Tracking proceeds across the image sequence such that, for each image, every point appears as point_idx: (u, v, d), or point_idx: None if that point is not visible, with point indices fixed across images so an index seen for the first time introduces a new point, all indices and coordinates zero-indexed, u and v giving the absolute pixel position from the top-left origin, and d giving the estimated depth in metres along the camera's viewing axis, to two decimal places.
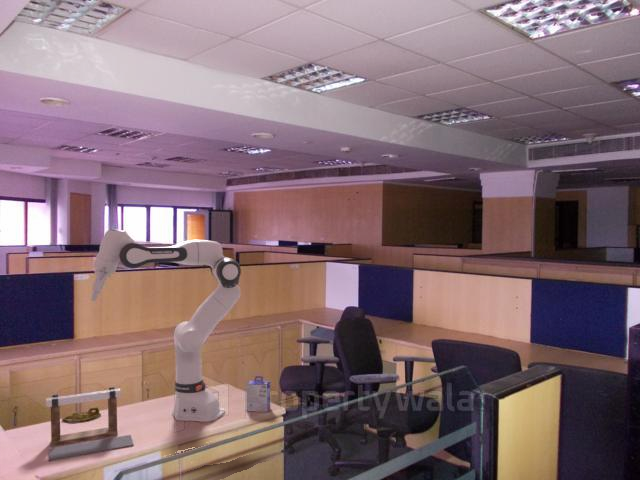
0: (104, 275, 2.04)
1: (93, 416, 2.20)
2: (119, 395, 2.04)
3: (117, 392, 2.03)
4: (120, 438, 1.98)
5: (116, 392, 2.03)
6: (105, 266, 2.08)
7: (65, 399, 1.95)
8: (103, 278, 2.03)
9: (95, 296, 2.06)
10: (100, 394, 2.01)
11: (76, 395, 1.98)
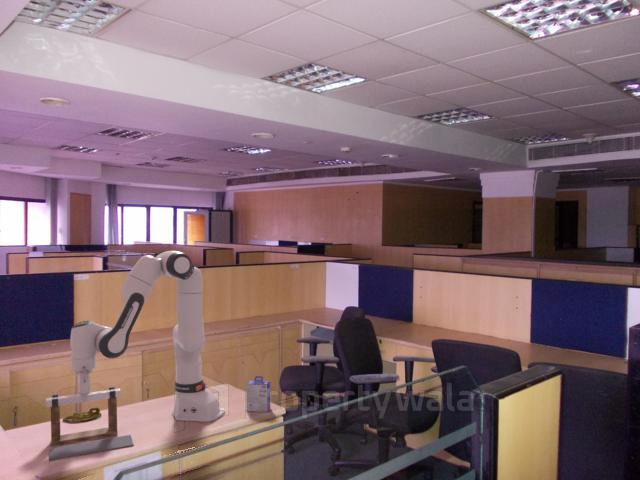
0: (87, 376, 1.92)
1: (94, 416, 2.20)
2: (119, 395, 2.04)
3: (117, 392, 2.03)
4: (120, 438, 1.98)
5: (116, 392, 2.03)
6: (84, 365, 1.95)
7: (65, 399, 1.95)
8: (87, 379, 1.91)
9: (85, 396, 1.97)
10: (100, 394, 2.01)
11: (76, 395, 1.98)
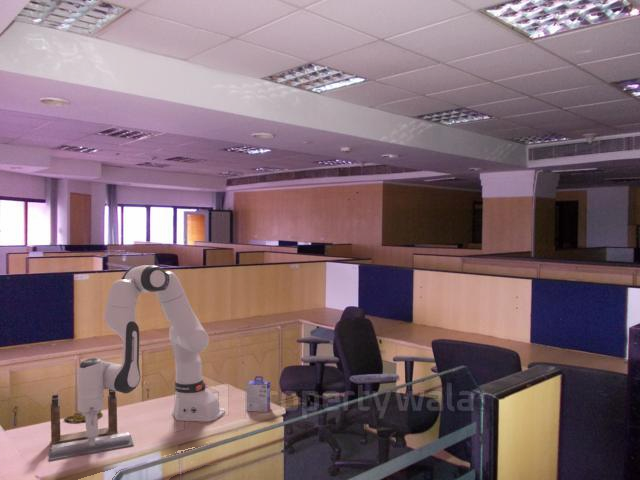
0: (94, 418, 1.83)
1: None
2: (128, 440, 1.95)
3: (126, 437, 1.95)
4: None
5: (125, 437, 1.95)
6: (91, 406, 1.87)
7: (72, 446, 1.87)
8: (95, 422, 1.83)
9: (93, 440, 1.87)
10: (108, 440, 1.92)
11: (83, 441, 1.90)
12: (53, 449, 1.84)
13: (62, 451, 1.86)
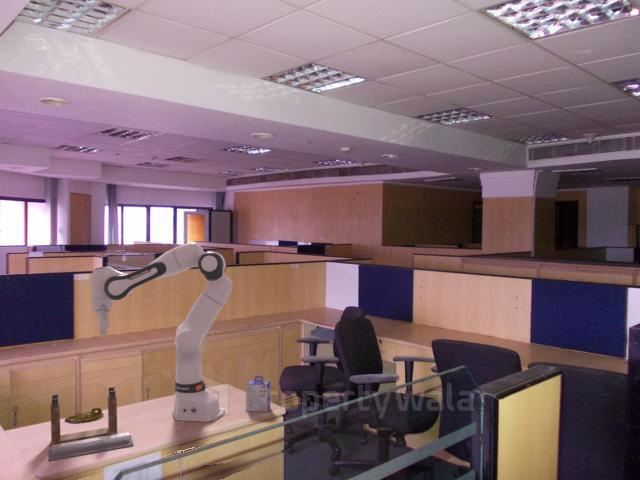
0: (106, 312, 2.17)
1: (95, 416, 2.19)
2: (128, 440, 1.95)
3: (126, 437, 1.95)
4: None
5: (125, 437, 1.95)
6: (103, 304, 2.21)
7: (72, 446, 1.87)
8: (106, 315, 2.16)
9: (104, 333, 2.20)
10: (108, 440, 1.92)
11: (83, 441, 1.90)
12: (53, 449, 1.84)
13: (62, 451, 1.86)
